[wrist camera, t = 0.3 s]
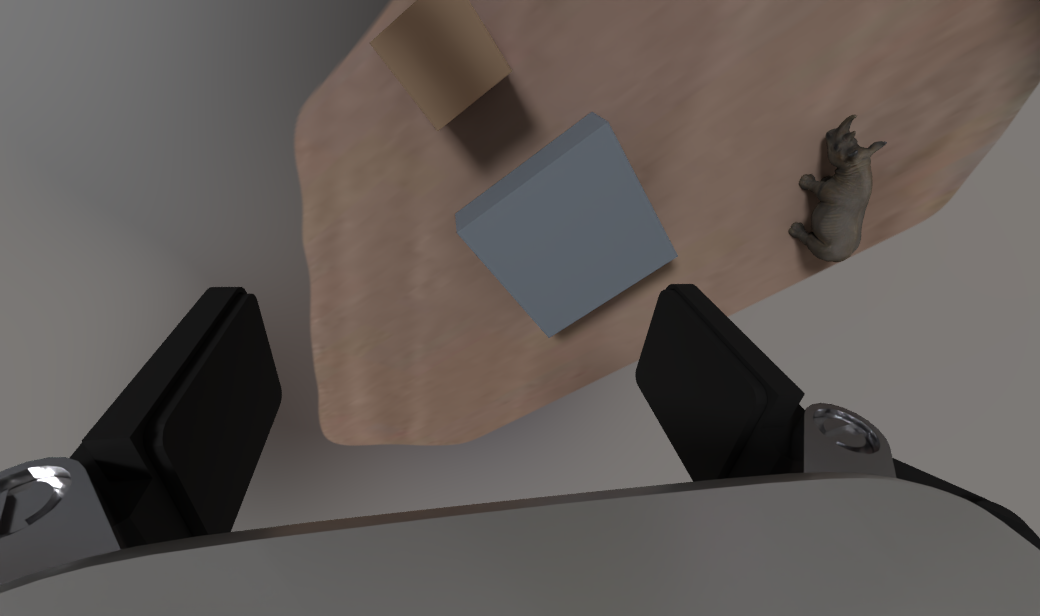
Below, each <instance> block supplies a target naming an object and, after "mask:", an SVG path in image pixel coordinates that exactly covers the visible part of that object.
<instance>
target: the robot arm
mask: <svg viewBox="0 0 1040 616" xmlns="http://www.w3.org/2000/svg"><path fill="white" fill-rule="evenodd" d="M636 382H637V384H638V386H639V388H640V390H641V392H642V393H643V395H644V397H645V399H646V400H647V402H648V403H649V405H650V407H651V409H652V411H653V412H654V414H655V416H656V417H657V419H658V421H659V423H660V425H661V426H662V428H663V430H664V432H665V433H666V435H667V437H668V438H669V440H670V442H671V444H672V445H673V447H674V449H675V451H676V452H677V454H678V456H679V458H680V459H681V461H682V463H683V464H684V466H685V468H686V470H687V471H688V473H689V475H690V477H691V478H692V480H693V482H686V483H676V484H666V485H656V486H646V487H635V488H626V489H615V490H606V491H596V492H586V493H577V494H568V495H558V496H548V497H538V498H529V499H519V500H511V501H500V502H491V503H482V504H472V505H463V506H453V507H444V508H436V509H426V510H417V511H408V512H400V513H391V514H381V515H372V516H363V517H354V518H345V519H335V520H327V521H317V522H308V523H300V524H292V525H284V526H276V527H268V528H260V529H252V530H245V531H236V532H231V529H232V527H233V524H234V522H235V519H236V517H237V514H238V511H239V509H240V506H241V504H242V501H243V499H244V496H245V494H246V491H247V488H248V486H249V483H250V481H251V478H252V476H253V473H254V470H255V468H256V465H257V463H258V460H259V458H260V455H261V452H262V450H263V447H264V445H265V442H266V440H267V437H268V434H269V432H270V429H271V427H272V424H273V422H274V419H275V416H276V414H277V411H278V409H279V406H280V403H281V398H282V392H281V391H282V390H281V386H280V382H279V378H278V374H277V371H276V367H275V364H274V360H273V357H272V353H271V349H270V345H269V342H268V338H267V334H266V331H265V327H264V323H263V320H262V316H261V312H260V309H259V305H258V301H257V299H256V297H255V295H254V294H247V292H246V291H245V289H244V288H242V287H211V288H209V289H208V290H206V292H205V293H204V294H203V295H202V296H201V298H200V299H199V300H198V301H197V302H196V304H195V305H194V306H193V307H192V309H191V310H190V311H189V312H188V313H187V314H186V316H185V317H184V318H183V319H182V320H181V322H180V323H179V324H178V325H177V327H176V328H175V329H174V330H173V331H172V333H171V334H170V335H169V336H168V337H167V339H166V340H165V341H164V342H163V343H162V345H161V346H160V347H159V348H158V349H157V351H156V352H155V353H154V354H153V356H152V357H151V358H150V359H149V360H148V362H147V363H146V364H145V365H144V366H143V367H142V369H141V370H140V371H139V372H138V374H137V375H136V376H135V377H134V378H133V380H132V381H131V382H130V383H129V384H128V386H127V387H126V388H125V389H124V390H123V392H122V393H121V394H120V395H119V396H118V398H117V399H116V400H115V401H114V402H113V404H112V405H111V406H110V407H109V408H108V410H107V411H106V412H105V413H104V415H103V416H102V417H101V418H100V419H99V420H98V422H97V423H96V424H95V425H94V427H93V428H92V429H91V430H90V431H89V433H88V434H87V435H86V436H85V437H84V439H83V440H82V443H81V445H80V446H79V447H78V448H77V449H76V451H75V452H74V453H73V454H72V456H71V457H70V458H66V457H48V458H43V459H39V460H34V461H28V462H25V463H22V464H19V465H17V466H14V467H11V468H8V469H5V470H3V471H1V472H0V616H1040V538H1039V537H1038V536H1037V535H1036V534H1035V533H1034V531H1033V530H1032V529H1030V528H1029V526H1028V525H1027V524H1026V523H1025V522H1024V521H1023V520H1022V519H1021V518H1020V517H1018V516H1017V515H1016V514H1015V513H1013V512H1012V511H1010V510H1008V509H1007V508H1005V507H1003V506H1001V505H999V504H996V503H994V502H991V501H989V500H987V499H985V498H983V497H980V496H978V495H976V494H973V493H971V492H969V491H967V490H964V489H962V488H960V487H957V486H955V485H953V484H951V483H948V482H946V481H944V480H942V479H939V478H937V477H935V476H933V475H930V474H928V473H926V472H923V471H921V470H919V469H916V468H914V467H912V466H910V465H908V464H905V463H903V462H901V461H898V460H896V459H894V458H892V454H891V450H890V446H889V444H888V442H887V439H886V438H885V437H884V435H883V434H882V433H881V432H880V431H879V430H878V429H877V428H876V427H875V426H874V425H873V424H871V423H870V422H869V421H868V420H866V419H864V418H863V417H861V416H859V415H858V414H856V413H854V412H852V411H849V410H847V409H845V408H843V407H839V406H835V405H832V404H825V403H818V404H812V405H810V406H809V407H807V408H806V410H804V409H803V408H802V407H801V406H800V405H799V403H800V401H801V399H802V398H803V396H804V393H803V391H802V390H801V389H800V388H798V386H796V385H795V383H793V381H791V380H790V379H789V378H788V377H787V376H786V375H785V374H784V373H783V372H782V371H781V370H780V369H779V368H778V367H777V366H776V365H775V364H774V363H773V362H772V361H771V360H770V359H769V358H768V357H767V356H766V355H765V354H764V353H763V352H762V351H761V350H760V349H759V348H758V347H757V346H756V345H755V344H754V343H753V342H752V341H751V340H750V339H749V338H748V337H747V336H746V335H745V334H744V333H743V332H742V331H741V330H740V329H739V328H738V327H737V326H736V325H735V324H734V323H733V322H732V321H731V320H730V319H729V318H728V317H727V316H726V315H725V314H724V313H723V312H722V311H721V310H720V309H719V308H718V307H717V306H716V305H715V304H714V303H713V302H712V301H711V300H710V299H709V298H707V297H706V296H705V295H704V294H703V293H702V292H701V291H700V290H699V289H698V288H697V287H696V286H695V285H693V284H671V285H669V286H668V287H667V288H666V290H663V291H661V293H660V295H659V297H658V301H657V304H656V307H655V310H654V314H653V317H652V320H651V323H650V327H649V330H648V333H647V336H646V340H645V343H644V346H643V349H642V353H641V356H640V359H639V362H638V366H637V369H636Z"/></svg>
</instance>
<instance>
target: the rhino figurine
mask: <svg viewBox="0 0 1040 616" xmlns="http://www.w3.org/2000/svg"><path fill="white" fill-rule="evenodd" d="M854 118H856V115H851V116H849V117H848V118H846V119H845V120H844V121H843V122H842V123H841V124H840V126H839V127H838V128H837V129H832V130H830V131H828V132H827V133H826V141H827V149H828V158H829V161H830V163H831V164H832V165H833V166H835V167H837V169H836V170H835V175H834V177H832V176H827V177H826V178H823V179H822V180H821V181H820V182H819V181H816V180H815V177H814V176H813V175H812V174H809V175H806V174H805V175H803V176H802V177H801V179H800V181H799V185H800V186H801V188H802V189H804V190H807V189H809V190H810V191H812V192H813V193H815V195H816V196H817V198H818V199H819V200H820V202H819V203H818V205H817V206H816V208H815V210H814V211H813V214H812V217H811V221H812V230H813V232H811V233H808V232H807V231H805V229H804V226H803V224H802V223H797V222H795V223H793V224H792V226H791V228H790V229H789V233H790V235H791V236H792V237H795V238H799V239H800V240H801V242H802V243H803V244H805V245H807V246H808V249H809V250H810V251H811V252H812V253H813V254H814V255H815V256H816V257H817V258H819V259H822V260H825V261H833V262H841V261H844V260H845V259H847V258H848V257H850V256H851V254H852V253H853V252H854V251H855V250H856V249H857V248H858V246H859V244H860V240H861V228H862V222H863V218H864V214H865V210H866V207H867V204H868V201H869V198H870V195H871V192H872V172H871V166H870V163H871V160H870V157H871V155H872V154H873V153H875V152H876V151H877V150H879V149H880V148H882V147H883V146H884V145H885V144H886V143H887V142H882V141H880V142H875V143H873V144H872V145H870V147H869V148H864V147H860V146H859V145H858V144H857V140H856V139H855V138H854V136H855V133H856V131H853V132H850V131H849V129H850V125H851V122H852V120H853V119H854Z"/></svg>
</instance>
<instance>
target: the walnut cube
mask: <svg viewBox="0 0 1040 616" xmlns="http://www.w3.org/2000/svg"><path fill="white" fill-rule="evenodd" d="M370 44H371V46H372V47H373V48H374V50H375V51H376V52H377V53H378V55H379V56H380V57H381V59H382V60H383V61H384V62H385V64H386V65H387V66H388V68H389V69H390V70H391V72H392V73H393V74H394V75H395V77H396V78H397V79H398V81H399V82H400V83H401V84H402V86H403V87H404V88H405V90H406V91H407V92H408V94H409V95H410V96H411V97H412V99H413V100H414V101H415V103H416V104H417V105H418V106H419V108H420V109H421V110H422V112H423V113H424V114H425V115H426V117H427V118H428V119H429V121H430V122H431V123H432V125H433V126H434V127H435V128H436V130H437V131H439V130H440V129H441V128H443V127H444V126H445V125H446V124H447V123H449V122H450V121H451V120H452V119H454V118H455V117H456V116H457V115H459V114H460V113H461V112H462V111H464V110H465V109H466V108H467V107H469V106H470V105H471V104H472V103H473V102H475V101H476V100H477V99H478V98H480V97H481V96H482V95H483V94H485V93H486V92H487V91H488V90H490V89H491V88H492V87H493V86H495V85H496V84H497V83H498V82H500V81H501V80H502V79H503V78H504V77H506V76H507V75H508V74H509V73H511V72H512V70H511V68H510V67H509V65H508V63H507V62H506V60H505V59H504V57H503V55H502V54H501V52H500V50H499V49H498V47H497V45H496V44H495V42H494V41H493V39H492V37H491V36H490V34H489V32H488V31H487V29H486V27H485V26H484V24H483V23H482V21H481V19H480V18H479V16H478V14H477V13H476V11H475V10H474V8H473V6H472V5H471V3H470V1H469V0H417V1H416V2H414V3H413V4H412V5H411V6H410V7H409V8H408V9H407V10H406V11H404V12H403V13H402V14H401V15H400V16H399V17H398V18H397V19H396V20H394V21H393V22H392V23H391V24H390V25H389V26H388V27H387V28H386V29H384V30H383V31H382V32H381V33H380V34H379V35H378V36H377V37H376V38H374V39H373V40H372V41H371V42H370Z"/></svg>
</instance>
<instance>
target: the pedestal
mask: <svg viewBox="0 0 1040 616" xmlns="http://www.w3.org/2000/svg"><path fill="white" fill-rule="evenodd" d="M455 217H456V229H457V233H458V235H459V236H460V237H461V238H462V239H463V240H464V241H465V243H466V244H467V245H468V246H469V247H470V248H471V249H472V251H473V252H474V253H475V254H476V255H477V256H478V258H479V259H480V260H481V261H482V262H483V263H484V264H485V266H486V267H487V268H488V269H489V270H490V271H491V272H492V274H493V275H494V276H495V277H496V278H497V279H498V280H499V282H500V283H501V284H502V285H503V286H504V287H505V288H506V290H507V291H508V292H509V293H510V294H511V295H512V296H513V298H514V299H515V300H516V301H517V302H518V303H519V304H520V306H521V307H522V308H523V309H524V310H525V311H526V312H527V314H528V315H529V316H530V317H531V318H532V319H533V320H534V322H535V323H536V324H537V325H538V326H539V327H540V328H541V330H542V331H543V332H544V333H545V334H546V335H547V336H548V338H550V337H551V336H553V335H555V334H556V333H558V332H559V331H561V330H562V329H564V328H566V327H567V326H569V325H570V324H572V323H573V322H575V321H577V320H578V319H580V318H581V317H583V316H584V315H586V314H588V313H589V312H591V311H592V310H594V309H596V308H597V307H599V306H600V305H602V304H603V303H605V302H607V301H608V300H610V299H611V298H613V297H614V296H616V295H618V294H619V293H621V292H622V291H624V290H626V289H627V288H629V287H630V286H632V285H633V284H635V283H637V282H638V281H640V280H641V279H643V278H644V277H646V276H648V275H649V274H651V273H652V272H654V271H655V270H657V269H659V268H660V267H662V266H663V265H665V264H667V263H668V262H670V261H671V260H673V259H674V258H676V257H678V255H677V253H676V252H675V250H674V248H673V246H672V244H671V242H670V240H669V238H668V236H667V234H666V232H665V230H664V228H663V227H662V225H661V223H660V221H659V219H658V217H657V215H656V213H655V211H654V209H653V207H652V205H651V203H650V202H649V200H648V198H647V196H646V194H645V192H644V190H643V188H642V186H641V184H640V182H639V180H638V178H637V176H636V175H635V173H634V171H633V169H632V167H631V165H630V163H629V161H628V159H627V157H626V155H625V153H624V151H623V150H622V148H621V146H620V144H619V142H618V140H617V138H616V136H615V134H614V132H613V130H612V128H611V126H610V125H609V123H608V121H606V120H605V119H603V118H601V117H600V116H598V115H596V114H595V113H593V112H591V113H590V114H588V115H587V116H585V117H584V118H583V119H581V120H580V121H579V122H577V123H576V124H575V125H573V126H572V127H571V128H569V129H568V130H567V131H565V132H564V133H563V134H561V135H560V136H559V137H557V138H556V139H555V140H553V141H552V142H551V143H549V144H548V145H547V146H545V147H544V148H543V149H541V150H540V151H539V152H537V153H536V154H535V155H533V156H532V157H531V158H529V159H528V160H527V161H525V162H524V163H523V164H521V165H520V166H519V167H517V168H516V169H515V170H513V171H512V172H511V173H509V174H508V175H507V176H505V177H504V178H503V179H501V180H500V181H499V182H497V183H496V184H495V185H493V186H492V187H490V188H489V189H488V190H486V191H485V192H484V193H482V194H481V195H480V196H478V197H477V198H476V199H474V200H473V201H472V202H470V203H469V204H468V205H466V206H465V207H464V208H462V209H461V210H460V211H458V212H457V213H456V214H455Z"/></svg>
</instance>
